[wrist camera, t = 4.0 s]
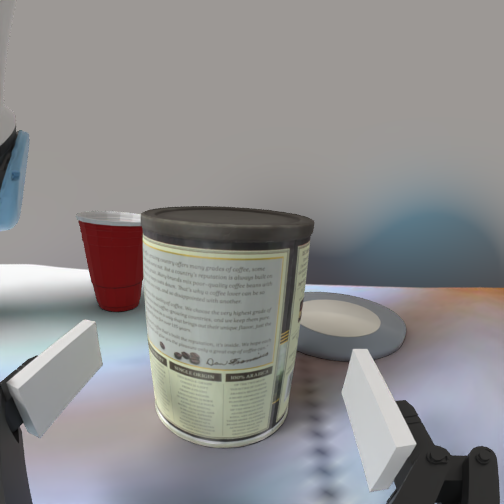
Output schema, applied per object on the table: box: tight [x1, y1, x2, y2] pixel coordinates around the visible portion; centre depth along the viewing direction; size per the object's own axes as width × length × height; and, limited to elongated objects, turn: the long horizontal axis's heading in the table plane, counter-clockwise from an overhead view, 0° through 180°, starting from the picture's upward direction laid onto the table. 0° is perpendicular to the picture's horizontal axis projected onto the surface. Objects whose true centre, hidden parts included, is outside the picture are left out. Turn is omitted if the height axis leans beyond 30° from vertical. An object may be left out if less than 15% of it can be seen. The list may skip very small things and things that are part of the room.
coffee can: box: [141, 206, 314, 448], centre depth 20 cm, size 10×10×14 cm
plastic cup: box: [76, 211, 143, 312], centre depth 36 cm, size 11×11×12 cm
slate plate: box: [297, 292, 406, 361], centre depth 36 cm, size 18×18×1 cm
